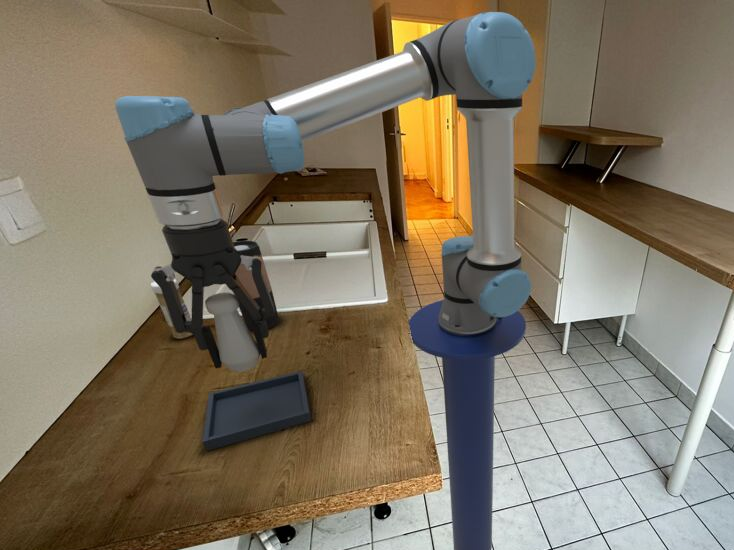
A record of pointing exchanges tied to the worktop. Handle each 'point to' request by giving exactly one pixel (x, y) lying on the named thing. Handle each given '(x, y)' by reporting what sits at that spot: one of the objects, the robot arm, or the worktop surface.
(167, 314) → the sprinkles bottle
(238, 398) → the tray
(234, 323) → the salt shaker
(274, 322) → the travel mug
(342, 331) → the worktop surface
